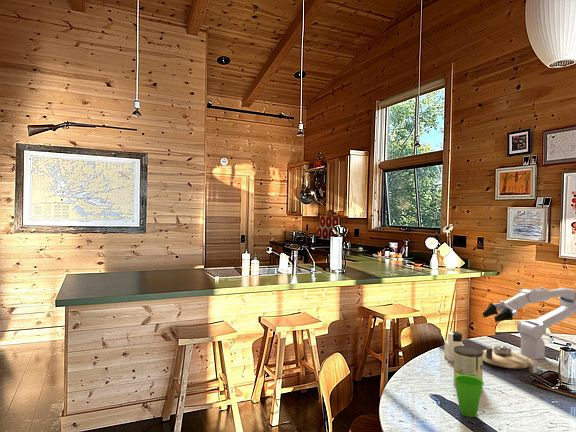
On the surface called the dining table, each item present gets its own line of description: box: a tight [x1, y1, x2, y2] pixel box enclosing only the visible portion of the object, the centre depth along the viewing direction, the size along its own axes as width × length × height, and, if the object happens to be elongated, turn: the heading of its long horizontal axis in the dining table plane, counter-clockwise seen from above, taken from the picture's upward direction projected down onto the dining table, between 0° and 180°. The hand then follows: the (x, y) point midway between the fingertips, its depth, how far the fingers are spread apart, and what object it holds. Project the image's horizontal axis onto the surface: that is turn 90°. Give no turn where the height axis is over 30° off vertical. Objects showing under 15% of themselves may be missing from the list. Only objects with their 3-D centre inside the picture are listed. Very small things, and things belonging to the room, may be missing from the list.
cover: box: [493, 344, 512, 356], centre depth 187 cm, size 7×7×3 cm
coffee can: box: [453, 345, 484, 390], centre depth 157 cm, size 10×10×14 cm
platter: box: [482, 347, 529, 369], centre depth 183 cm, size 20×20×6 cm
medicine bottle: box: [443, 331, 465, 362], centre depth 187 cm, size 7×7×12 cm
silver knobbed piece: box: [522, 359, 538, 374], centre depth 174 cm, size 3×7×6 cm, turn 13°
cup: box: [453, 375, 485, 418], centre depth 135 cm, size 9×9×11 cm
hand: (489, 317), depth 187 cm, fingers open, 7 cm apart
